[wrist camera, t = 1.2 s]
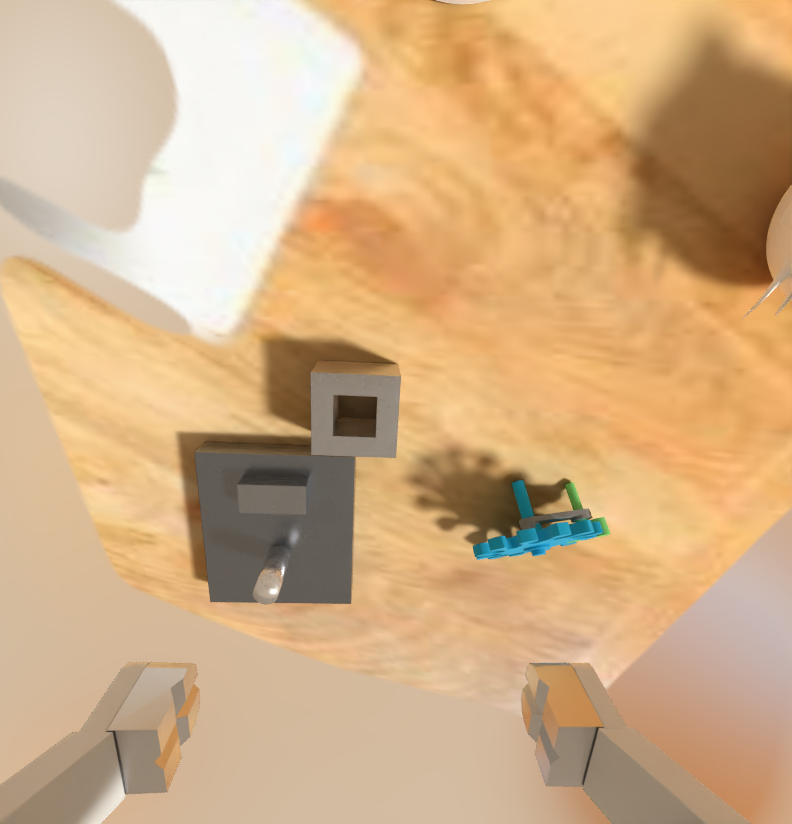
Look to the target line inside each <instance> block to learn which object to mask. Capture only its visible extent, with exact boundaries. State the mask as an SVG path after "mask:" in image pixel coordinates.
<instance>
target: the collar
mask: <svg viewBox="0 0 792 824" xmlns="http://www.w3.org/2000/svg"><path fill="white" fill-rule="evenodd" d="M400 382H401V375H400V370H399V366H398V364H389V363H367V362H346V361H325V360H319V361H318V362H317V364H316V365H315V367H314V368H313V370H312V371H311V455H327V456H357V457H387V458H396V447H397V431H398V415H399V398H400ZM338 395H347V396H371V397H377V407H376V419H370V418H345V417H338Z"/></svg>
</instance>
